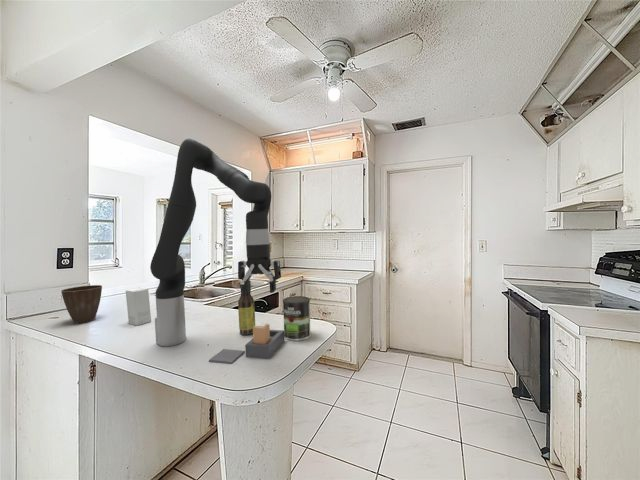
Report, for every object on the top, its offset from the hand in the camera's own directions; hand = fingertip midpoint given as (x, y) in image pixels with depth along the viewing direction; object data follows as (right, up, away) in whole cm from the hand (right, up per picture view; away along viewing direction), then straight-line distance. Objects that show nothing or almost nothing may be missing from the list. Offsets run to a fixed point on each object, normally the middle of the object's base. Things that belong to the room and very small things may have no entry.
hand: (260, 292), depth 92 cm
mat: (-10, -21, -2) cm, 23 cm away
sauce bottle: (-9, -20, +20) cm, 30 cm away
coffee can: (+11, -20, +15) cm, 27 cm away
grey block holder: (+1, -20, +4) cm, 20 cm away
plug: (+1, -20, +1) cm, 20 cm away
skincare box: (-64, -21, +37) cm, 77 cm away
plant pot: (-93, -22, +42) cm, 105 cm away
